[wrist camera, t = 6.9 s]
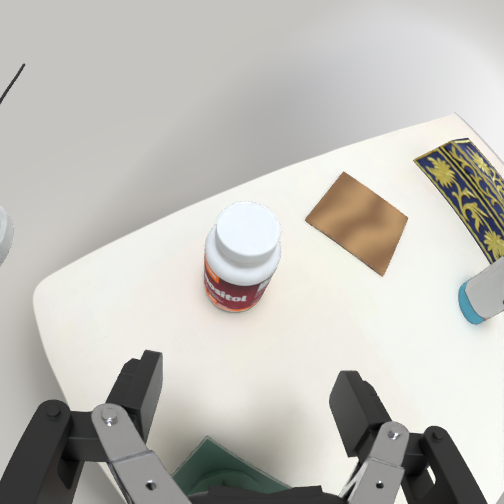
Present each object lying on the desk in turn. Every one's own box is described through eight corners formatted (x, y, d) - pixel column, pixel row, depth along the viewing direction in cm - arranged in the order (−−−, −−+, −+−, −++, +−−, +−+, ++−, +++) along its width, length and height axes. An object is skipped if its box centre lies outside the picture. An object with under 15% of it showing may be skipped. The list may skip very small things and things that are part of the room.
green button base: (156, 490, 19) (149, 503, 15) (207, 435, 23) (207, 441, 19) (243, 541, 17) (249, 558, 14) (292, 488, 21) (305, 499, 17)
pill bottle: (191, 290, 29) (186, 231, 20) (226, 248, 32) (237, 180, 23) (241, 326, 28) (261, 282, 19) (274, 280, 31) (305, 221, 22)
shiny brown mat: (304, 220, 36) (305, 218, 36) (342, 173, 42) (343, 171, 41) (382, 276, 34) (383, 275, 33) (407, 219, 39) (408, 217, 39)
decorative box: (504, 289, 37) (539, 266, 29) (413, 160, 48) (435, 126, 40) (518, 265, 40) (546, 243, 32) (436, 153, 51) (457, 124, 44)
